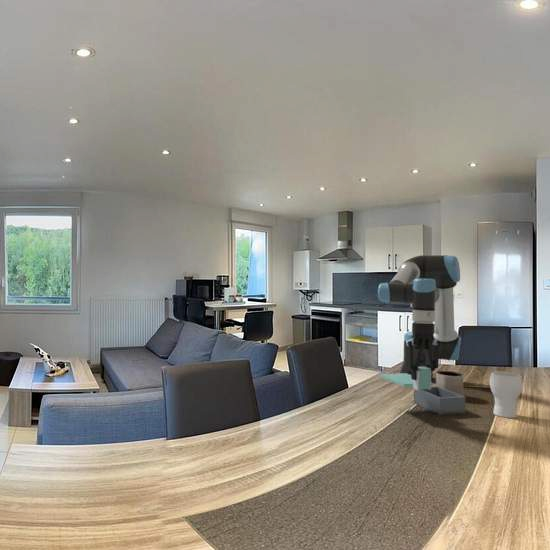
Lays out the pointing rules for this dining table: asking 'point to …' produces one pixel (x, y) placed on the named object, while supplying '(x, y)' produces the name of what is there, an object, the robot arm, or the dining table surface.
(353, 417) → the dining table surface
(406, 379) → the lid
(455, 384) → the planter
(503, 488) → the dining table surface
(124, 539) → the dining table surface
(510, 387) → the cup
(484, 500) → the dining table surface
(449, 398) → the tub
